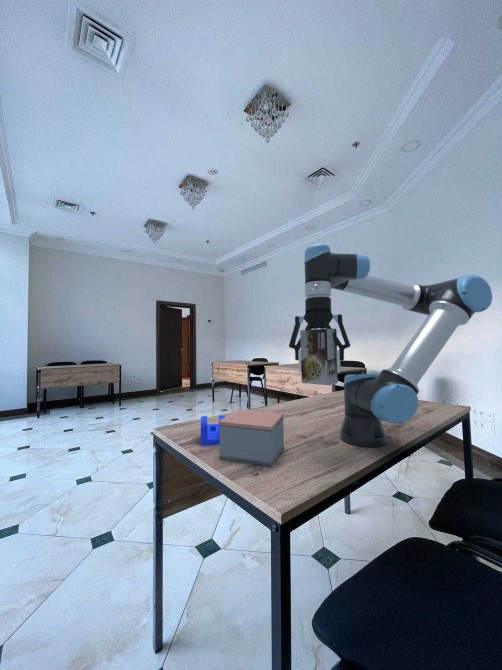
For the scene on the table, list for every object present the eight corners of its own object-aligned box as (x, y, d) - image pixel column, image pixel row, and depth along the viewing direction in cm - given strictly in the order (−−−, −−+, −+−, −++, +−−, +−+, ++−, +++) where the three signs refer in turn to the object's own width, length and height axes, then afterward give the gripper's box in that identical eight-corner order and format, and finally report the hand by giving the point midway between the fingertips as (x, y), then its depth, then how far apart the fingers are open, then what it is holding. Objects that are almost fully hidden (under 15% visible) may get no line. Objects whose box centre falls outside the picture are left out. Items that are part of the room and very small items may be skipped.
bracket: (225, 444, 94) (225, 418, 94) (200, 446, 93) (200, 419, 93) (223, 428, 112) (223, 406, 112) (202, 429, 111) (202, 407, 111)
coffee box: (338, 383, 82) (337, 328, 82) (328, 386, 77) (327, 328, 77) (311, 380, 88) (310, 329, 88) (300, 383, 83) (299, 329, 83)
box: (283, 448, 90) (283, 418, 90) (271, 467, 77) (270, 431, 77) (238, 442, 95) (238, 414, 96) (219, 458, 82) (219, 425, 83)
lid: (283, 416, 90) (283, 413, 90) (271, 430, 77) (271, 427, 77) (237, 412, 96) (237, 409, 96) (218, 424, 83) (218, 421, 83)
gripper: (277, 298, 84) (278, 372, 83) (358, 292, 75) (360, 374, 75) (283, 301, 91) (284, 369, 90) (358, 297, 82) (360, 371, 82)
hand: (319, 371), depth 82 cm, fingers closed on coffee box, 10 cm apart
